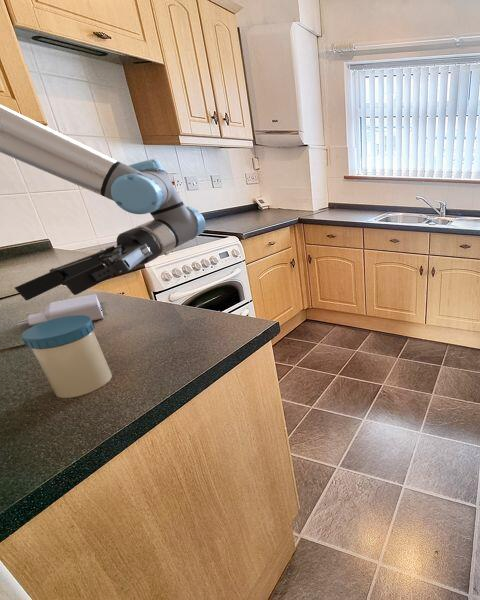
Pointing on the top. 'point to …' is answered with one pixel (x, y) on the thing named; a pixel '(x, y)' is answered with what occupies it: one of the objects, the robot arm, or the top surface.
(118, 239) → the robot arm
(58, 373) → the jar
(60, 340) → the lid
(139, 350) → the top surface
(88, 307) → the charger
